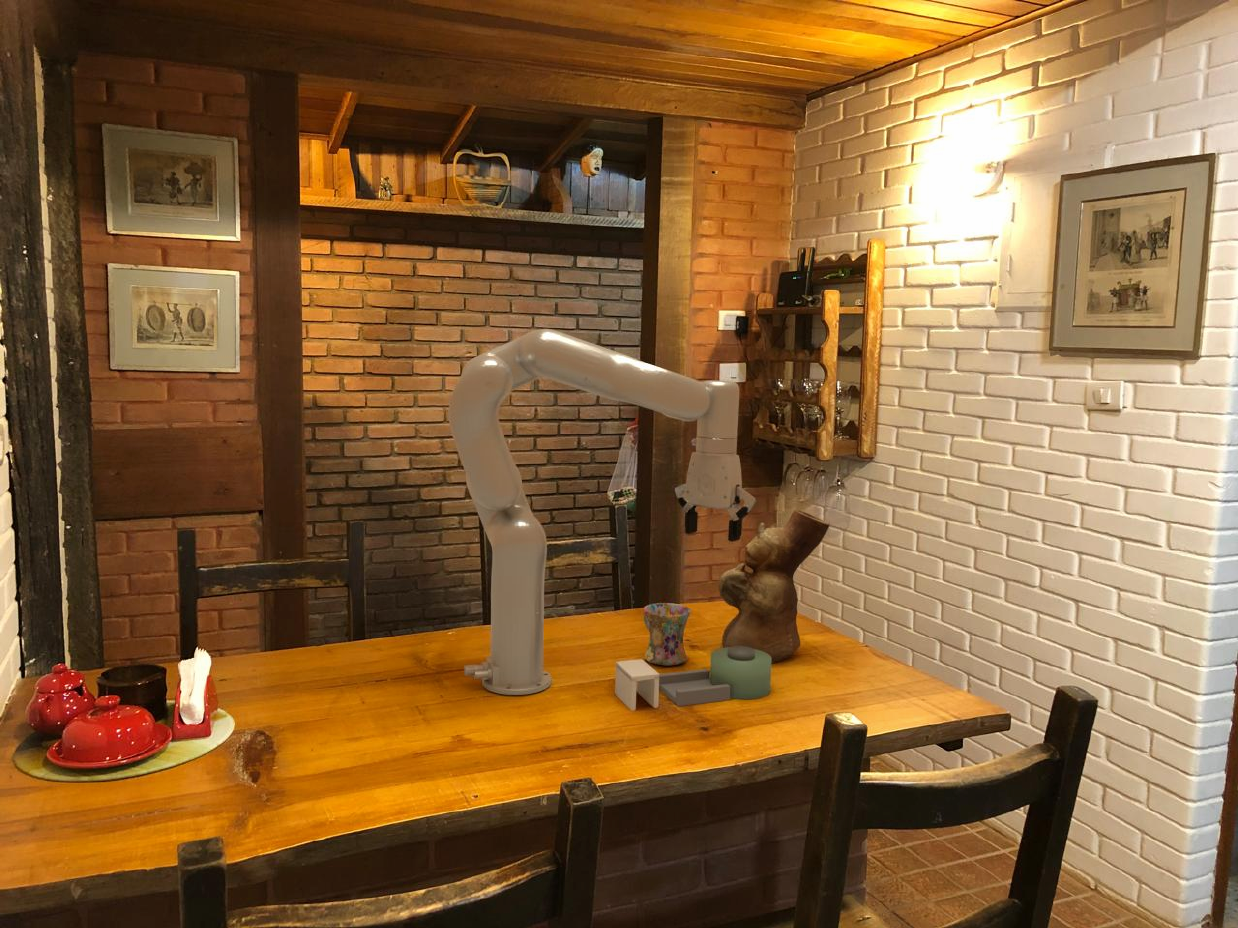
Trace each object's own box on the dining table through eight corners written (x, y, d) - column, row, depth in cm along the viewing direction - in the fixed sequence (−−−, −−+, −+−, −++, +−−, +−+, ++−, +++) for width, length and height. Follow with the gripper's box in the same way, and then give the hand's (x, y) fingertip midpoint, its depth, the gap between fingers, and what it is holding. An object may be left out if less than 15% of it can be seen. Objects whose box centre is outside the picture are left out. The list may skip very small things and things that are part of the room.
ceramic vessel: (714, 639, 197) (719, 501, 193) (816, 643, 196) (823, 505, 193) (719, 664, 181) (725, 514, 178) (830, 668, 180) (838, 518, 177)
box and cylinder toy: (680, 707, 158) (681, 667, 157) (655, 685, 168) (656, 647, 168) (781, 695, 165) (783, 656, 164) (751, 674, 175) (753, 638, 175)
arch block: (658, 707, 158) (659, 673, 158) (631, 710, 157) (632, 676, 156) (640, 691, 166) (641, 659, 165) (614, 694, 164) (615, 661, 163)
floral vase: (698, 663, 181) (700, 611, 180) (661, 672, 176) (663, 618, 175) (661, 647, 191) (662, 597, 190) (625, 654, 186) (626, 603, 184)
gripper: (667, 443, 174) (663, 532, 176) (746, 452, 163) (741, 546, 165) (689, 441, 180) (685, 527, 182) (767, 449, 169) (762, 540, 171)
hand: (712, 536), depth 173 cm, fingers open, 9 cm apart
